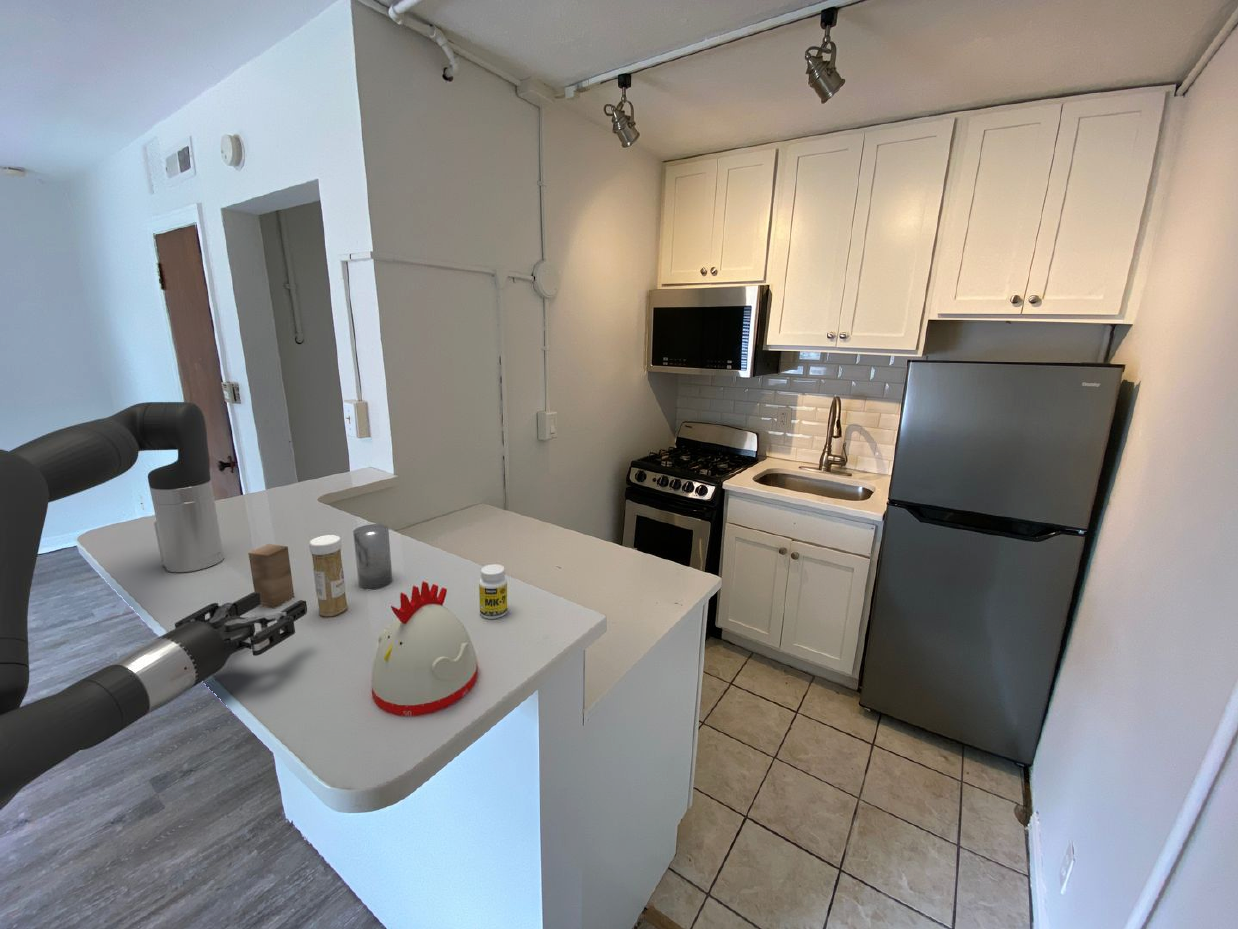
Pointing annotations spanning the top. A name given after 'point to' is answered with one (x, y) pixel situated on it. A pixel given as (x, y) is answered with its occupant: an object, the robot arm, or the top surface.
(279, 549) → the walnut block
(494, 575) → the supplement bottle
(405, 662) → the kitchen timer
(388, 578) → the grey metal tin
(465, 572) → the top surface
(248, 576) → the top surface
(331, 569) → the sprinkles bottle
